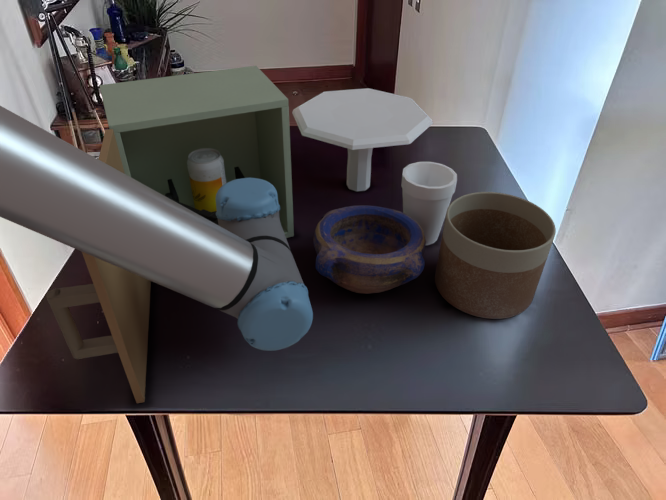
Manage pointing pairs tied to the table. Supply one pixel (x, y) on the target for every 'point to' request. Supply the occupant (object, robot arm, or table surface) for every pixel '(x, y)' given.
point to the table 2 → (361, 125)
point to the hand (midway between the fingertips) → (204, 179)
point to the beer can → (206, 177)
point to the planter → (493, 254)
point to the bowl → (369, 248)
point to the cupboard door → (110, 304)
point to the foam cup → (428, 195)
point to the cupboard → (203, 129)
